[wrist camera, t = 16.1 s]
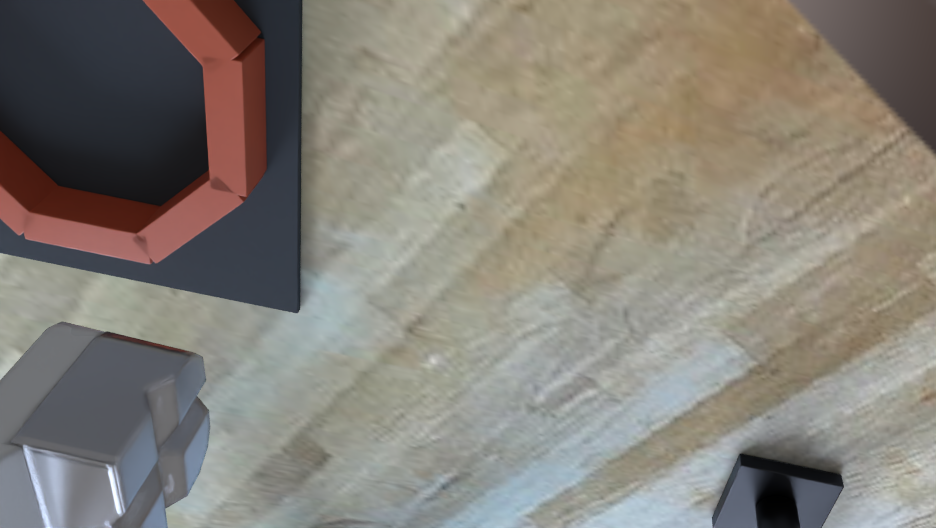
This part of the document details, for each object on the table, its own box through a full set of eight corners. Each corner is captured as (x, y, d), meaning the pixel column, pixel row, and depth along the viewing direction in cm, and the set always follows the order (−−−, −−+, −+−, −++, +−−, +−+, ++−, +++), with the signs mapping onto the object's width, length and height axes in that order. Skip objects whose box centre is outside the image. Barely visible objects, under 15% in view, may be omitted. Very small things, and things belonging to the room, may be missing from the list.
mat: (-180, -264, 32) (-189, -263, 32) (303, -187, 31) (300, -185, 30) (-45, 239, 45) (-50, 243, 44) (300, 308, 43) (297, 313, 43)
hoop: (-166, -318, 30) (-251, -314, 28) (260, -250, 29) (217, -239, 26) (-38, 193, 42) (-87, 233, 40) (268, 255, 41) (240, 300, 38)
